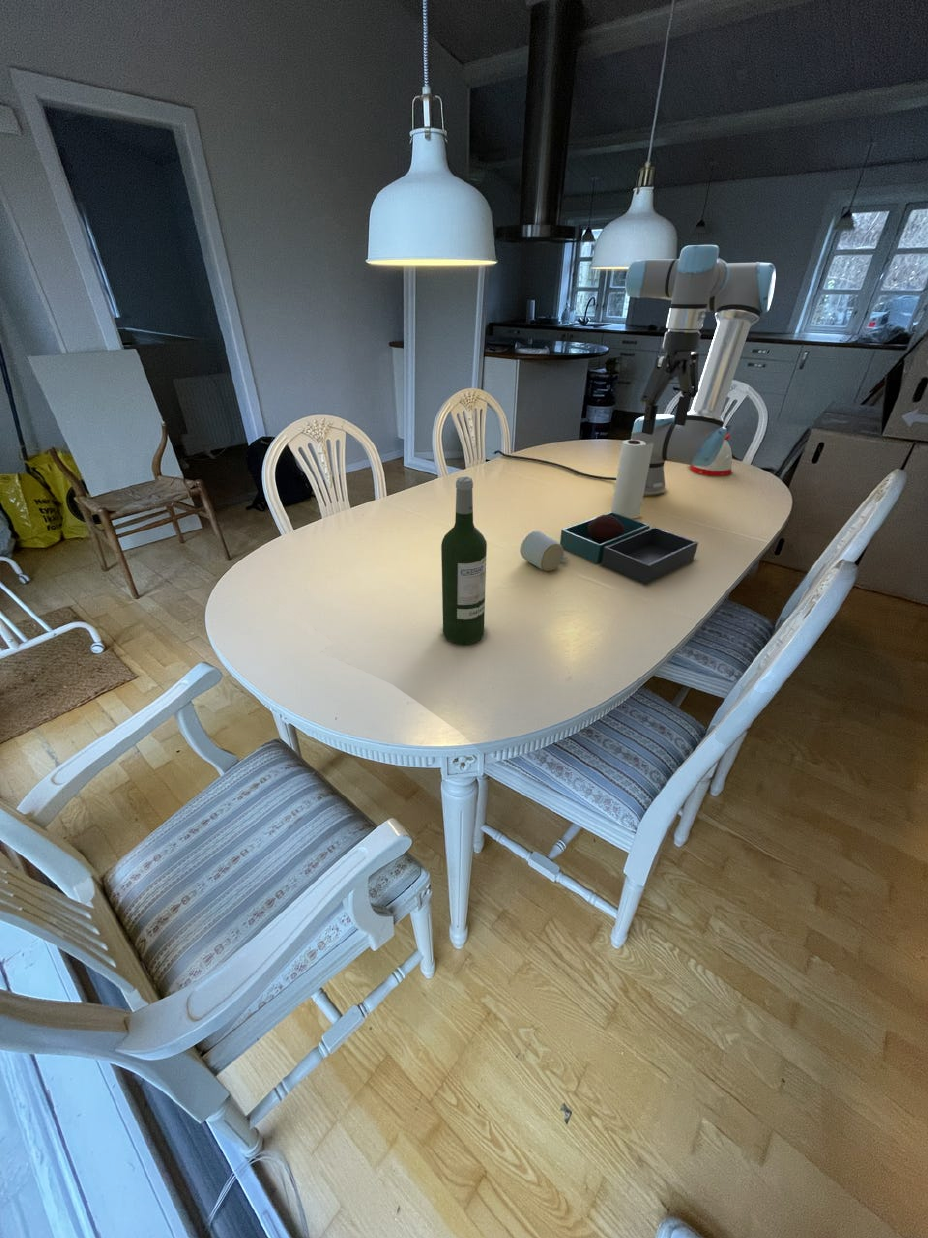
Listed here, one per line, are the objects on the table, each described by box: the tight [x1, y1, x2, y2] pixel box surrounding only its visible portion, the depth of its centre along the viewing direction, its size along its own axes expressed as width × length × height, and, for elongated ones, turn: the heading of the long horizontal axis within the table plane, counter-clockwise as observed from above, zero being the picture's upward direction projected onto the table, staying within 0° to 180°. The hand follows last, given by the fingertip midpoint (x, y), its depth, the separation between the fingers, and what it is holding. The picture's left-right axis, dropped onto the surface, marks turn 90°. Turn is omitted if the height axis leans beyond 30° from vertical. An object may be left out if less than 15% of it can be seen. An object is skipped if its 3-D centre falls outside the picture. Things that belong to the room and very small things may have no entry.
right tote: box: [600, 526, 699, 586], centre depth 122 cm, size 12×20×5 cm, turn 129°
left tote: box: [559, 511, 651, 565], centre depth 130 cm, size 12×20×5 cm, turn 129°
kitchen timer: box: [689, 433, 733, 477], centre depth 184 cm, size 14×14×15 cm
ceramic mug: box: [519, 530, 568, 572], centre depth 120 cm, size 11×8×8 cm
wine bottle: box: [440, 476, 488, 646], centre depth 89 cm, size 8×8×30 cm
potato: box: [587, 514, 625, 544], centre depth 129 cm, size 8×9×8 cm
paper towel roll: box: [610, 439, 654, 519], centre depth 142 cm, size 7×6×21 cm
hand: (663, 429), depth 125 cm, fingers open, 13 cm apart
